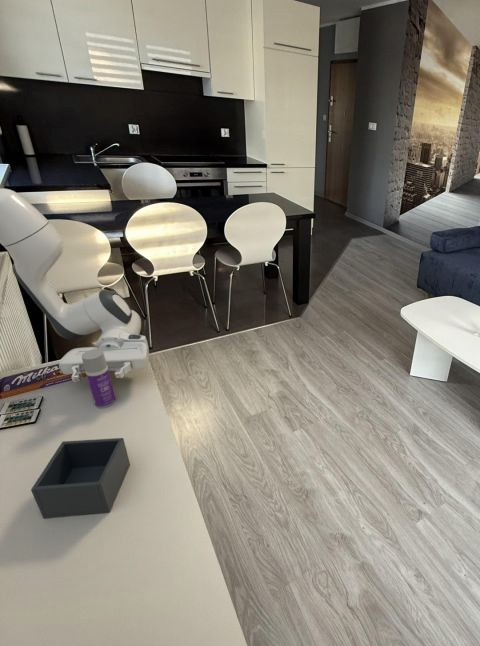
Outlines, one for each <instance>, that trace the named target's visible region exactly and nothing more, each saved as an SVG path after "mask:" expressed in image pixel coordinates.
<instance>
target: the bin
mask: <svg viewBox="0 0 480 646" xmlns="http://www.w3.org/2000/svg"><path fill="white" fill-rule="evenodd" d="M130 466H131V463H130V459H129V455H128V451H127V447H126V442H125V439H124V437H116V438H115V437H114V438H98V439H97V438H96V439H81V440H66V441H65V440H63V441H61V443H60V445H59V446H58V447H57V449H56V451H55V452H54V453H53V455H52V457H51V458H50V460H49V461H48V463H47V464H46V466H45V467H44V469H43V470H42V472H41V474H40V475H39V477H38V478H37V480H36V481H35V483H34V484H33V486H32V488H31V489H30V491H31V493H32V496H33V498H34V501H35V503H36V505H37V508H38V510H39V512H40V514H41V516H42V518H43V519H54V518H65V517H74V516H75V517H77V516H88V515H99V514H109V513H111V511H112V509H113V506H114V503H115V501H116V499H117V497H118V494H119V492H120V490H121V487H122V485H123V483H124V481H125V478H126V475H127V473H128V471H129V468H130Z"/></svg>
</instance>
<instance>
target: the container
mask: <svg viewBox="0 0 480 646" xmlns="http://www.w3.org/2000/svg"><path fill="white" fill-rule="evenodd" d="M82 360H83V364H84V368H85V372H86V373H85V374H86V379H87V383H88V386H89V390H90V393H91V396H92V400H93V403H94V406H95V407H96V408H97V409H105V408H109V407H111V406H113V405H114V404H115V403H116V401H117V398H116V394H115V390H114V387H113V382H112V379H111V374H110V371H109V370H108V366H107V363H106V360H105V356H104V353H103V351H102V350H100V349H92V350H89V351H86V352H85V353H83V354H82Z"/></svg>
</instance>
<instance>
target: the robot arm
mask: <svg viewBox="0 0 480 646" xmlns="http://www.w3.org/2000/svg"><path fill="white" fill-rule="evenodd" d="M0 245H2V246H3V247H4V249H5V250H7V252H8V253H9V255H10V257H11V258H12V260H13V264H12V272H13V275H14V277H15V278H16V279H17V281H18V283H19V284H20V286H21V287H22V288H23V289H24V290H25V292H26V293H27V294H28V295H29V297H30V298H31V300H32V301H33V302H34V303H35V304H36V305H37V307H38V308H39V309H40V310H41V311H42V313H43V314H44V315H45V316H46V318H47V319H48V322H50V324H51V327H52V328H53V330H54V332H55V333H56V334H57V335H58V336H60V337H61V338H63V339H65V340H69V341H80V340H83V339H84V338H86V337H88V336H90V335H91V334H93V333H95V332H97V331H99V330H101V333H100V335H99V337H98V338H97V340H96V342H94V345H93V346H88V347H87V346H85V347H76V348H73V349H70V350H69V351H68V352H66V354H64V355H63V357H61V359H60V360H59V361H58V367H59V370H60V372H61V373H62V375H71V381H72V382H81V380H82V379H83V375H82V374H86V372H85V368H84V364H83V360H82V354H83V353H85V352H86V351H89V350H92V349H100V350H102V351H103V353H104V356H105V360H106V363H107V366H108V370H109V372H114V377H115V379H123V378H124V377H125V375H127V374H128V373H129V372H131V371H133V370H144V369H147V368H148V366H149V365H150V360H151V359H150V349H149V344H148V340H147V337H146V336H145V335H142V334H140V333H141V330H142V319H141V317H140V315H139V313H137V312H136V311H135V310H133V309H132V308H131V306H130V304H129V303H128V301H127V300H126V298H124V297H123V295H121V294H119V293H117V292H115V291H112V290H109V289H101V290H99V291H97V292H94V293H92V294H90V295H88V296H86V297H84V298H81V299H79V300H77V301H75V302H73V303H66V302H64V300H63V299H62V298H61V296H60V295H59V294H58V292H57V291H56V290H55V289H54V288H53V286H52V285H51V283H50V282H49V280H48V276H47V275H48V272H49V271H50V270H51V269H52V267H54V265H55V264H56V263H57V262H58V260H59V259H60V258H61V256H62V255H63V252H64V245H65V243H64V239H63V237H62V235H61V233H60V232H59V231H58V229H57V228H56V227H55V226H54V225H53V224H52V223H51V222H50V221H49V220H48V219H47V218H46V217H45V216H44V214H43V213H41V211H39V209H37V208H36V207H35V206H34V205H33V204H31V202H29V201H28V200H27V199H26V198H24V197H23V196H21V195H20V194H19V193H18V192H16V191H15V190H12V189H9V188H3V187H2V188H0Z"/></svg>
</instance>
